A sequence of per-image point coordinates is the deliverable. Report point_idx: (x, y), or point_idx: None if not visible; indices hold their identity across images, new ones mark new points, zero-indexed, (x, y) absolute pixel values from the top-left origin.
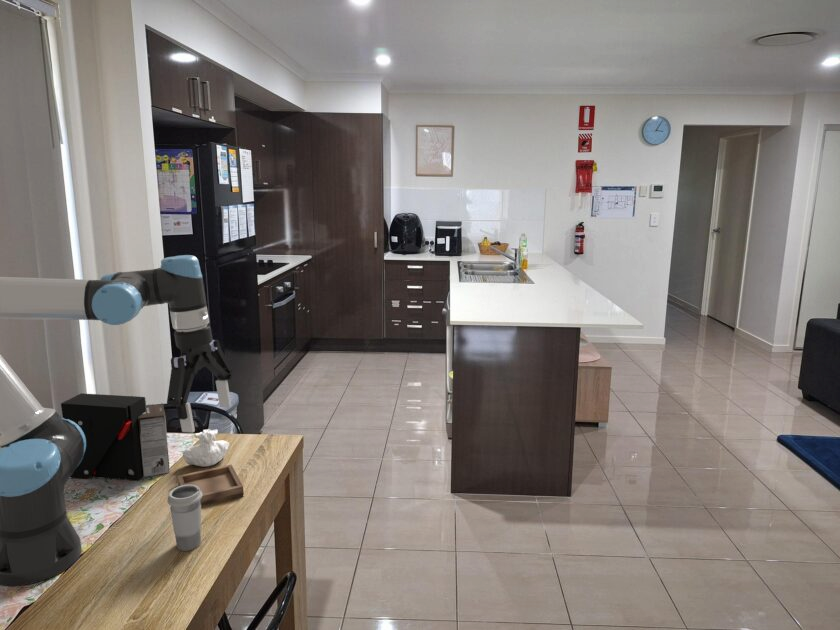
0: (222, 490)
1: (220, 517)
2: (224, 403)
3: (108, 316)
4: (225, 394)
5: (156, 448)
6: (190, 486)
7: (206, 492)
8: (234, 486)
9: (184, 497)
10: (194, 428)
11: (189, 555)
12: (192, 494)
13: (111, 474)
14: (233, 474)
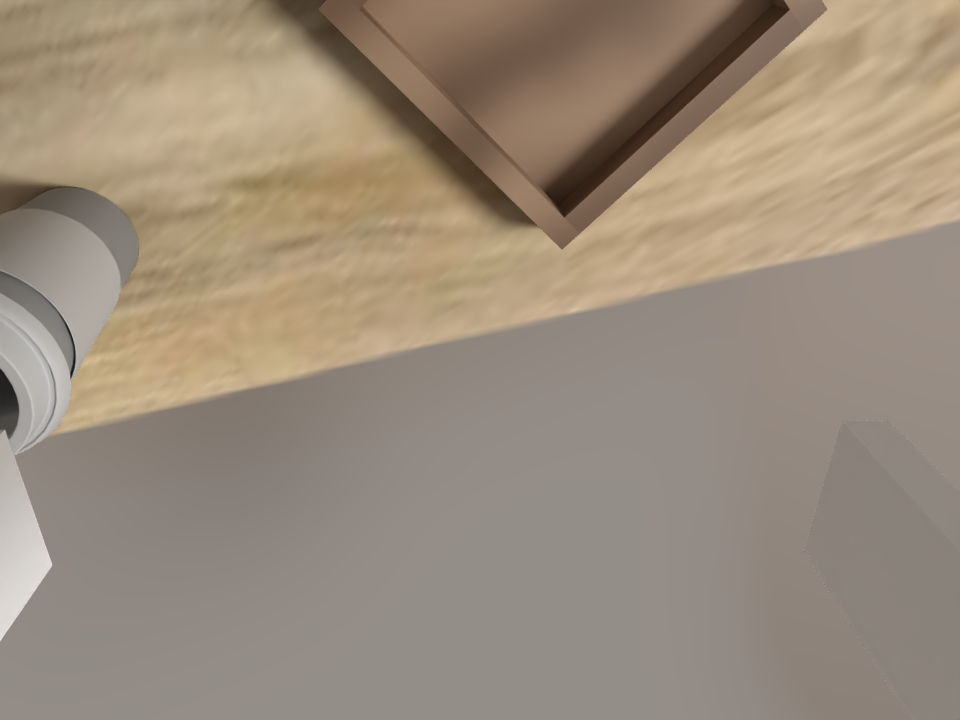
0: (491, 166)
1: (335, 236)
2: (849, 530)
3: None
4: (918, 691)
5: None
6: (11, 376)
7: (501, 28)
8: (551, 204)
9: (25, 291)
10: (29, 594)
11: None
12: (57, 339)
13: None
14: (688, 112)
